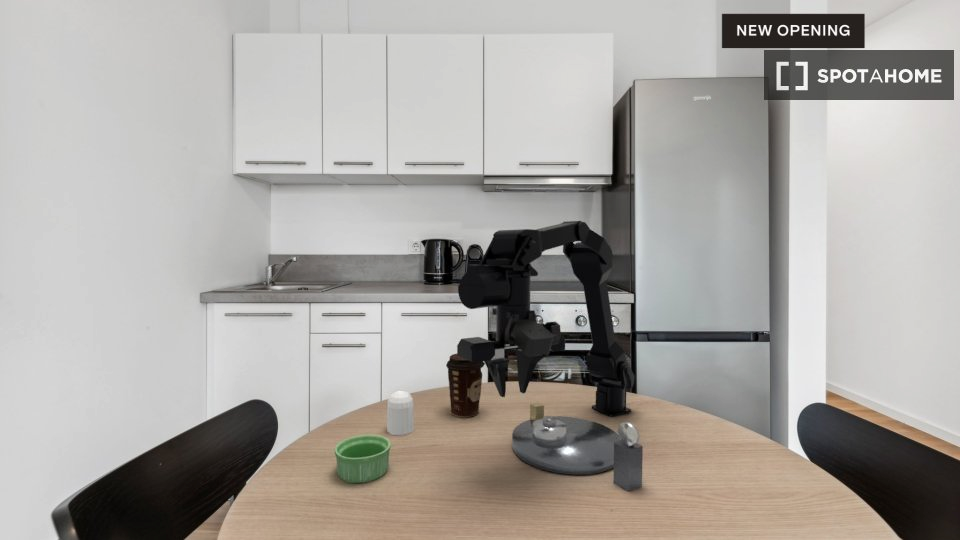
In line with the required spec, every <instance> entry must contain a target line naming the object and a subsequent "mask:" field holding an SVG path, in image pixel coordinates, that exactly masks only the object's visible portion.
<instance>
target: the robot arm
mask: <svg viewBox="0 0 960 540" xmlns="http://www.w3.org/2000/svg"><path fill="white" fill-rule="evenodd" d="M492 236H493V237H492V239H491V241H490V243H489V245H488V246H487V248H486V250H485V252H484V255H483V257H482V258H481V260H480V262H479V263H478V264H468V265H467V272H466V273H465V274H464V275H463V276H462V277H461V279H460V281H459V284H458V286H457V291H458V292H457V293H458V297H459V300H460V302H461V303H462V305H463V306H464V307H466V308H467V309H469V310H474V309H482V308H490V307H491V308H492V307H496V308H492V315H493V316H496V318H495V319H496V320H495V321H496V322H495V326H496V327H495V328H496V331H492V333H491V334H492V339H494V340H489V339H486V338H483V337H480V336H473V337H467V338H464V337H463V338H461V339H460V340H459V341H458V344H457V346H456V349H457V352H456V354H457V355H458V356H460V357H462V358H465V359H467V360H469V361H471V362H482V361H483V362H484V363H485V366H486V368H487V369H488V371H489V373H490V374H489V375H490V376H491V378H492V380H493V382H494V385H495V388H496V389H497V392H498V394H499V397H502V398H505V396H506V392H507V389H506V387H507V385H506V383H507V381H506V380H507V379H506V378H507V376H506V375H507V374H506V373H507V371H506V368H507V366H508V364H509V363H510V361H511V360H510V359H508V358H505V352H508V351H509V352H510V351H515V355H516V357H515V358H516V368H517V380H518V381H517V382H518V388H519V392H520V394H526V391H527V390H528V386H529V384H530V381H531V378H532V375H533V373H534V370H535V369H536V367H537V364H538V363H539V362H540V361H541V360H542V359H544V358H547V357H548V356H549V354H550V353H551V352H561V351H565V350H566V339H565V338H564V335H563V333H561V332H562V331H561V325H560V324H559V322H557V321H548V322H545V323H538V321H537V318H536V317H537V315H536V313H535V311H536V310H532V309H531V277H537V276H538V275H539V272H538V271H537V270H536V269H535V268H534V267H533V266H532V264H531V263H533V262H534V261H536V260H537V259H540V258H541V257H542V254H543V253H544V252H545V251H548V250H552V249H555V248H558V247H561V246H562V253H563V254H564V255H565V257H566V258H567V259H568V261H569V262H570V266H571V269H572V273H573V275H574V276H575V277H576V278H577V279H578V281H579V282H580V283H581V284H582V286H583V288H582V289H583V293H584V298H585V300H584V301H585V305H586V310H587V311H586V312H587V317H588V323H589V329H590V331H589V332H590V335H591V336H590V337H591V342H592V346H591V347H590V350H589V352H588V353H587V354H586V355H585V362H586V371H588V376H589V381H590V383H595V384H596V390H595V404H594V405H591V409H594V410H596V411H597V412H600V413H602V414H605V415H607V416H609V417H616V416H619V415H625V414H628V413H632V408H630V407H627V390H629V389H633V387H634V385H635V380H636V379H635V378H636V376H635V374H634V372H633V370H632V368H631V367H630V365H629V363H628V361H627V357H626V353H625V350H624V349H623V348H622V347H621V345H620V344H619V343H618V342H617V341H616V337H615V336H616V335H615V328H614V325H613V324H614V321H613V316H612V310H611V304H610V297H609V295H610V294H609V291H608V289H609V288H608V283H607V279H608V278H609V276H610V273H611V272H612V269H613V257H614V254H613V250H612V247H611V246H610V245H609V244H608V242H607V241H606V238H604V237H603V235H602V236H601V235H600V234H598V233H597V232H596V231H595V230H592V229H591V228H590V227H589V226H588V224H587V223H586V222H585V221H582V220H571V221H570V220H569V221H568V220H567V221H563V222H561V223H558V224H554V225H550V226H549V225H548V226H546V227H545V226H544V227H541V228H536V229H533V228H532V229H531V228H530V229H529V228H528V229H527V228H525V229H524V228H522V229H520V228H519V229H499V230H496V231H495V232H494V233H493V235H492Z"/></svg>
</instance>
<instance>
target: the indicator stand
mask: <svg viewBox="0 0 960 540" xmlns="http://www.w3.org/2000/svg"><path fill="white" fill-rule="evenodd" d="M617 434H618V435H619V438H620V440H621V441H618V442H615V443H614V467H613V479H612V480H613V484H614V485H616V486H618V487H620V488H622V489H623V490H626V492H627V493H628V492H631V491H634V490H636V489H639V488H641V487H643V455H644V454H643V453H644V452H643V449H644V447H643V445H642V444H639V441H640V432H639V429H638V427H637V426H636V425H635V424H634V423H633V422H631V421H625V422H621V423H620V424H619V425H618V428H617Z"/></svg>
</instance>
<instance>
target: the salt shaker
mask: <svg viewBox="0 0 960 540" xmlns="http://www.w3.org/2000/svg"><path fill="white" fill-rule="evenodd" d="M386 403H387V405H386V408H387V409H386V410H387V412H386V414H387V417H386V418H387V419H386V421H387V426H386V427H387V429H386V430H387V433H388V432H389V433H390V434H389V433H388V434H389V435H392V436H406V435H409V434H411V433H413V432H414V430H415V428H414V427H415V423H414V422H415V417H414V416H415V415H414V413H415V412H414V410H415V409H414V399H413V396H412V395H411V394H410V393H409V392H407V391H406V390H405V391H404V390H398V391H395V392H393V393H392V394H391V395H390V396H389V397H388V400H387V402H386ZM410 432H411V433H410ZM408 433H409V434H408ZM405 434H406V435H405Z"/></svg>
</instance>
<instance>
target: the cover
mask: <svg viewBox="0 0 960 540" xmlns="http://www.w3.org/2000/svg"><path fill="white" fill-rule="evenodd" d="M533 443H534V444H536V445H537V446H540V447H543V448H549V449H555V448H560V447H563V446H565V444H566V424H565V423H564V422H562V421H559V420H556V418H555V417H553V416H552V415H544V417H543V419H539V420H536V421H534V422H533Z"/></svg>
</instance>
